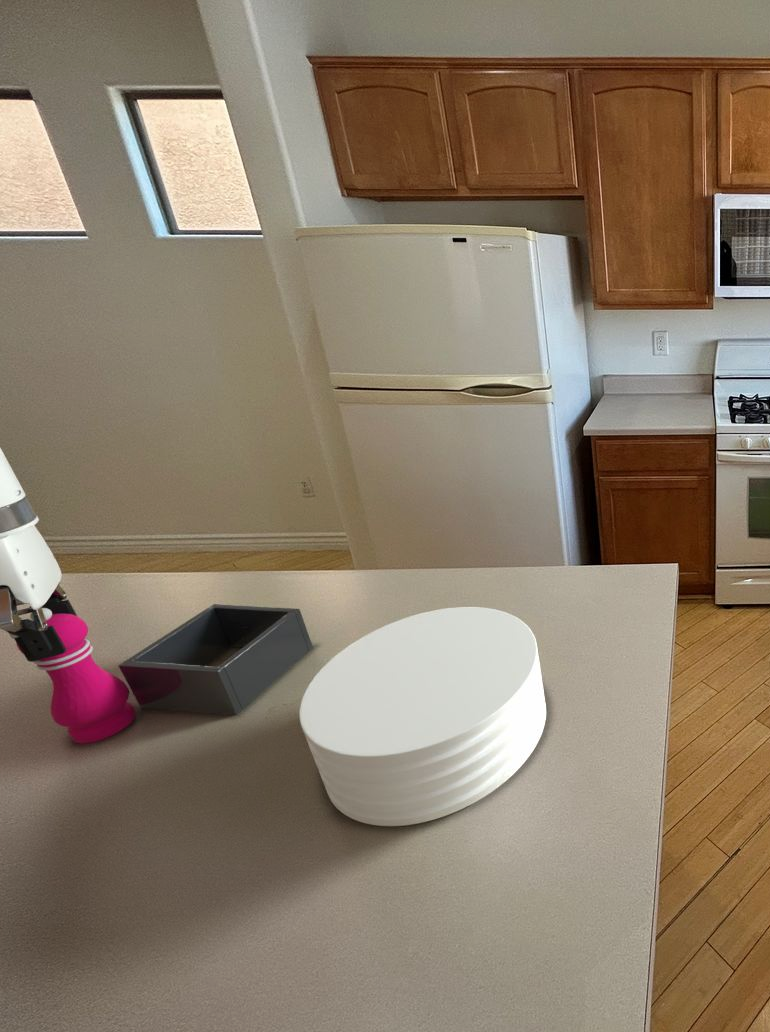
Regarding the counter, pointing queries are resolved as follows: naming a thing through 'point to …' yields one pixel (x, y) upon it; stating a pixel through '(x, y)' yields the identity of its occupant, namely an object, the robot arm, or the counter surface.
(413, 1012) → the counter surface
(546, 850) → the counter surface
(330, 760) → the plate stack
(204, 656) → the open box
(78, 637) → the pepper mill
